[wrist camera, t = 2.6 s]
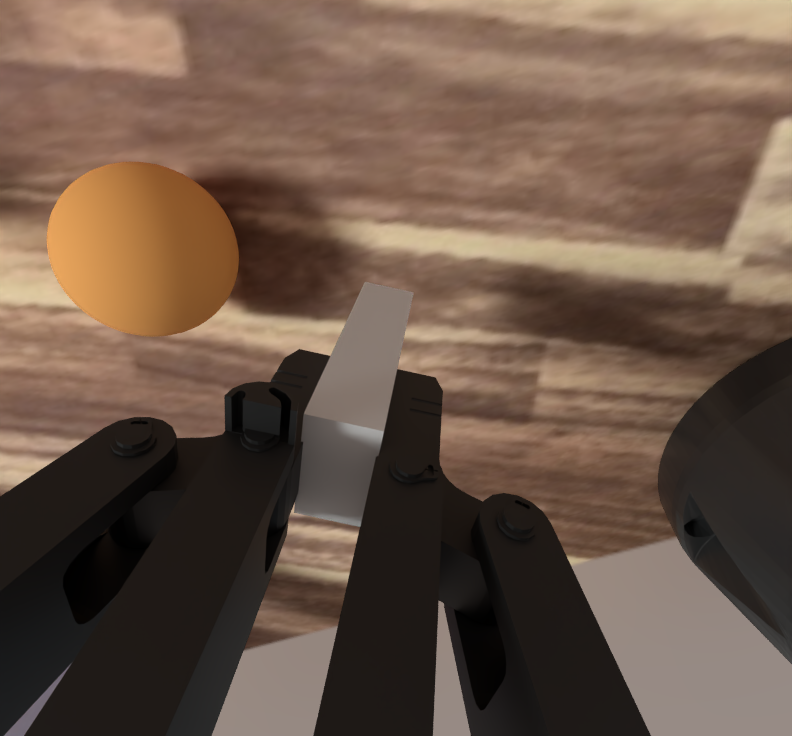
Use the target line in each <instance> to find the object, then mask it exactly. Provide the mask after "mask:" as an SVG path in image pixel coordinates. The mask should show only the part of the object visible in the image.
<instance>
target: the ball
mask: <svg viewBox="0 0 792 736" xmlns="http://www.w3.org/2000/svg"><path fill="white" fill-rule="evenodd" d="M47 248H48V255H49V259H50V263H51V266H52V269H53V271H54V274H55V276H56V278H57V280H58V282H59V284H60V285H61V287H62V288H63V290H64V291H65V292H66V294H67V295H68V296H69V297H70V299H71V300H72V301H73V302H74V303H75V304H76V305H77V306H78V307H79V308H80V309H82V310H83V311H84V312H85V313H87V314H88V315H89V316H91V317H92V318H94V319H95V320H97V321H99V322H101V323H103V324H105V325H107V326H109V327H111V328H113V329H116V330H118V331H122V332H125V333H129V334H135V335H140V336H168V335H173V334H177V333H182V332H185V331H187V330H190V329H192V328H195V327H197V326H199V325H200V324H202V323H204V322H205V321H207V320H208V319H209V318H211V317H212V316H213V315H214V314H215V313H217V311H218V310H219V309H220V308H221V307H222V306H223V304H224V303H225V302H226V300H227V299H228V297H229V295H230V294H231V292H232V290H233V287H234V284H235V282H236V278H237V273H238V266H239V251H238V245H237V240H236V236H235V233H234V230H233V227H232V225H231V223H230V220H229V219H228V217H227V215H226V213H225V212H224V210H223V209H222V208H221V206H220V205H219V203H218V202H217V201H216V200H215V199H214V198H213V197H212V196H211V195H210V194H209V193H208V192H207V191H206V190H205V189H204V188H203V187H201V186H200V185H199V184H197V183H196V182H195V181H193V180H192V179H190V178H188V177H187V176H185V175H183V174H181V173H179V172H177V171H174V170H172V169H169V168H167V167H163V166H160V165H156V164H150V163H143V162H121V163H114V164H108V165H105V166H102V167H99V168H97V169H94V170H91V171H89V172H88V173H86V174H84V175H82V176H81V177H79V178H78V179H76V180H75V181H74V182H73V183H72V184H71V185H69V187H68V188H67V189H66V190H65V191H64V192H63V194H62V195H61V196H60V197H59V199H58V201H57V203H56V205H55V207H54V209H53V211H52V213H51V216H50V219H49V224H48V231H47Z"/></svg>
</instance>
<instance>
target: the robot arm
mask: <svg viewBox="0 0 792 736" xmlns="http://www.w3.org/2000/svg"><path fill="white" fill-rule="evenodd" d="M413 293H414V292H410V291H405V290H401V289H396V288H391V287H387V286H382V285H378V284H373V283H369V282H365V283H364V285H363V287H362V289H361V291H360V294H359V296H358V298H357V300H356V302H355V304H354V306H353V309H352V311H351V313H350V315H349V317H348V319H347V322H346V324H345V326H344V328H343V330H342V332H341V335H340V337H339V339H338V341H337V343H336V345H335V347H334V350H333V352H332V354H331V356H328V355H323V354H319V353H314V352H310V351H305V350H300V349H299V350H297V351H296V352H294V353H292V354H291V355H289V356H287V357H286V358H285V359H284V360H283V362H282V363H281V365H280V367H279V368H278V370H277V372H276V373H275V375H274V376H273V378H272V379H271V382H270V383H269V382H252V383H245V384H242V385H240V386H237V387H235V388H233V389H232V390H230V391H229V392H228V393H227V394H226V395H225V432H224V433H223V434H222V435H219V436H215V437H205V438H176V434H175V432H174V430H173V427H172V426H170V425H169V424H167V423H166V422H164V421H163V420H159V419H155V418H151V417H134V418H129V419H125V420H121V421H117V422H115V423H113V424H111V425H109V426H107V427H105V428H103V429H102V430H100V431H99V432H97V433H96V434H94V435H93V436H91V437H90V438H88V439H87V440H85V441H84V442H82V443H81V444H79V445H78V446H76V447H75V448H73V449H72V450H70V451H69V452H67V453H66V454H64V455H63V456H61V457H59V458H58V459H56V460H55V461H53V462H52V463H50V464H49V465H47V466H46V467H44V468H43V469H41V470H40V471H38V472H37V473H35V474H34V475H32V476H31V477H29V478H28V479H26V480H25V481H23V482H22V483H20V484H19V485H17V486H16V487H14V488H13V489H11V490H10V491H8V492H6V493H5V494H3V495H2V496H0V736H4V735H5V734H6V733H7V732H8V731H9V730H10V729H11V728H12V726H13V725H14V724H15V723H16V722H17V721H18V720H19V719H20V718H21V717H22V716H23V715H24V714H25V713H26V711H27V710H28V709H29V708H30V707H31V706H32V705H33V704H34V703H35V702H36V701H37V700H38V699H39V698H40V696H41V695H42V694H43V693H44V692H45V691H46V690H47V689H48V688H49V687H50V686H51V685H52V684H53V682H54V681H55V680H56V679H57V678H58V677H59V676H60V675H61V674H62V673H63V672H64V671H65V670H66V669H67V667H68V666H69V665H70V664H71V663H72V664H71V665H70V667H69V668H68V670H67V671H66V673H65V674H64V676H63V677H62V679H61V680H60V682H59V683H58V685H57V686H56V688H55V689H54V691H53V692H52V694H51V695H50V697H49V698H48V700H47V702H46V703H45V705H44V706H43V708H42V709H41V711H40V712H39V714H38V715H37V717H36V718H35V720H34V721H33V723H32V724H31V726H30V727H29V729H28V730H27V732H26V733H25V735H24V736H212V733H213V730H214V728H215V725H216V722H217V720H218V717H219V714H220V712H221V709H222V706H223V704H224V701H225V698H226V696H227V693H228V690H229V687H230V685H231V682H232V679H233V677H234V674H235V672H236V669H237V666H238V664H239V661H240V658H241V656H242V653H243V650H244V648H245V645H246V642H247V639H248V637H249V634H250V631H251V629H252V626H253V623H254V621H255V618H256V615H257V613H258V610H259V607H260V605H261V602H262V599H263V597H264V594H265V591H266V589H267V586H268V583H269V581H270V578H271V575H272V573H273V570H274V567H275V565H276V562H277V559H278V557H279V554H280V551H281V549H282V546H283V543H284V541H285V538H286V535H287V529H288V519H289V515H290V513H291V510H292V507H293V505H294V502H295V510H294V513H298V514H303V515H308V516H312V517H317V518H321V519H326V520H331V521H335V522H340V523H344V524H349V525H354V526H358V527H360V530H359V535H358V539H357V544H356V548H355V553H354V557H353V561H352V566H351V570H350V575H349V579H348V584H347V588H346V593H345V597H344V602H343V606H342V611H341V615H340V620H339V624H338V628H337V633H336V638H335V642H334V646H333V651H332V656H331V660H330V664H329V669H328V673H327V678H326V682H325V686H324V692H323V695H322V700H321V704H320V709H319V713H318V718H317V722H316V727H315V731H314V736H433V716H434V694H435V671H436V670H435V669H436V647H437V624H438V600H439V601H441V602H443V603H444V608H445V613H446V617H447V622H448V627H449V632H450V636H451V642H452V647H453V651H454V656H455V661H456V666H457V671H458V676H459V680H460V685H461V690H462V694H463V700H464V704H465V709H466V714H467V719H468V724H469V728H470V733H471V736H651V735H650V733H649V731H648V729H647V727H646V725H645V722H644V721H643V718H642V716H641V714H640V712H639V710H638V708H637V705H636V703H635V701H634V699H633V697H632V695H631V693H630V690H629V688H628V686H627V684H626V682H625V680H624V678H623V676H622V674H621V671H620V669H619V667H618V665H617V663H616V661H615V659H614V656H613V654H612V652H611V650H610V648H609V646H608V644H607V642H606V639H605V637H604V635H603V633H602V631H601V629H600V627H599V625H598V623H597V620H596V618H595V616H594V614H593V612H592V610H591V608H590V605H589V603H588V601H587V599H586V597H585V595H584V593H583V591H582V588H581V586H580V584H579V582H578V580H577V578H576V576H575V574H574V571H573V569H572V567H571V565H570V563H569V561H568V559H567V557H566V554H565V552H564V550H563V548H562V546H561V544H560V542H559V539H558V537H557V535H556V533H555V531H554V529H553V527H552V525H551V523H550V521H549V520H548V518H547V517H546V516H545V514H544V513H543V511H541V510H540V509H539V508H538V507H537V506H535V505H534V504H533V503H532V502H530V501H528V500H526V499H524V498H522V497H520V496H517V495H511V494H506V493H503V494H496V495H492V496H490V497H489V498H487V499H486V500H484V501H483V502H482V501H480V500H478V499H476V498H474V497H472V496H470V495H468V494H466V493H465V492H463V491H461V490H460V489H458V488H456V487H455V486H454V485H453V484H452V483H451V482H450V481H449V480H448V479H447V478H446V476H445V475H444V474H443V471H442V468H441V466H440V461H439V453H440V433H441V414H442V395H443V390H442V389H441V387H440V385H439V383H438V381H437V380H436V378H435V377H431V376H426V375H421V374H417V373H412V372H408V371H403V370H399V369H397V368H398V363H399V358H400V354H401V349H402V344H403V340H404V335H405V330H406V326H407V321H408V316H409V311H410V307H411V302H412V297H413ZM658 490H659V496H660V501H661V504H662V507H663V509H664V511H665V513H666V515H667V517H668V520H669V522H670V524H671V526H672V528H673V530H674V532H675V534H676V536H677V538H678V540H679V542H680V544H681V546H682V548H683V549H684V551H685V552H686V553H687V555H688V556H689V558H690V559H691V560H692V562H693V563H694V564H695V565H696V566H697V567H698V568H699V569H700V570H701V571H702V572H703V573H704V575H706V576H707V578H708V579H709V580H710V581H711V582H712V583H713V584H714V585H715V586H716V587H717V588H718V589H719V590H720V591H721V592H722V593H723V594H724V595H725V596H726V597H727V598H728V599H729V600H730V601H731V602H732V603H733V604H734V605H735V606H736V607H737V608H738V609H739V610H740V611H741V612H742V614H743V615H744V616H746V618H747V619H748V620H750V622H751V623H752V624H753V625H754V626H755V627H756V628H757V629H758V630H759V631H760V632H761V633H762V634H763V635H764V636H765V637H766V638H767V639H768V640H769V641H770V642H771V643H772V644H773V645H774V646H775V647H776V648H777V649H778V650H779V651H780V653H781V654H783V656H784V657H785V658H786V659H787V660H788V661H789V662H790V663H791V664H792V339H789V340H787V341H784V342H782V343H780V344H778V345H776V346H774V347H772V348H770V349H768V350H766V351H764V352H763V353H761V354H759V355H757V356H755V357H754V358H752V359H750V360H749V361H747V362H745V363H744V364H742V365H741V366H739V367H738V368H736V369H735V370H733V371H732V372H730V373H729V374H728V375H726V376H725V377H724V378H722V379H721V380H720V381H719V382H717V383H716V384H715V385H714V386H713V387H711V388H710V389H709V390H708V391H707V392H706V393H705V394H704V395H703V396H702V397H701V398H700V399H699V400H698V401H697V402H696V403H695V404H694V405H693V406H692V407H691V408H690V409H689V410H688V412H687V413H686V414H685V415H684V417H683V418H682V419H681V421H680V422H679V424H678V425H677V427H676V428H675V430H674V431H673V433H672V435H671V437H670V438H669V440H668V442H667V445H666V447H665V449H664V452H663V455H662V458H661V462H660V466H659V473H658Z"/></svg>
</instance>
